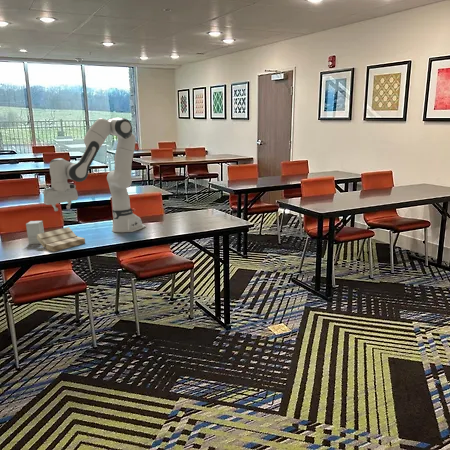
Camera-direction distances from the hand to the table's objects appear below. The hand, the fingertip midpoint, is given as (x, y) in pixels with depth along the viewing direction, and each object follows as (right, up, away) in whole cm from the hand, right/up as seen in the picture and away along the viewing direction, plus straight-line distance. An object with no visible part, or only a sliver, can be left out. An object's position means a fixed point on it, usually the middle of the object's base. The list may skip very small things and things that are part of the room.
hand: (62, 209), depth 246 cm
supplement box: (-17, -20, +4) cm, 26 cm away
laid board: (+4, -21, -6) cm, 22 cm away
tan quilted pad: (-3, -17, -1) cm, 18 cm away
